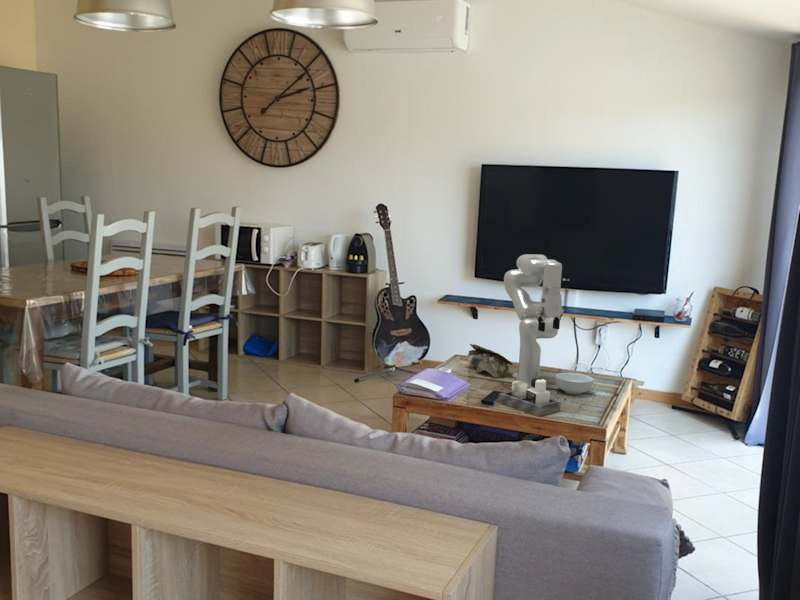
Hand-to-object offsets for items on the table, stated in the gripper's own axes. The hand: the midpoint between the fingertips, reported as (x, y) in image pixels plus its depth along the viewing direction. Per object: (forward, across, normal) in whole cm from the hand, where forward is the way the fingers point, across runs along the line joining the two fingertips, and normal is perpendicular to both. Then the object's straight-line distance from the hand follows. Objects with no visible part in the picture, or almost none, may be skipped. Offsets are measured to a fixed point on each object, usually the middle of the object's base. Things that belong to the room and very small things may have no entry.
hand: (548, 329), depth 346 cm
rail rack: (+30, -16, -5) cm, 35 cm away
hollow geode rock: (+31, +12, +46) cm, 57 cm away
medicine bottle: (+30, -16, -10) cm, 35 cm away
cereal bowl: (+31, +19, -1) cm, 36 cm away
